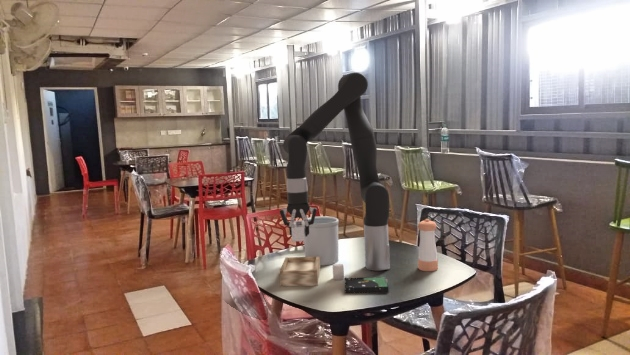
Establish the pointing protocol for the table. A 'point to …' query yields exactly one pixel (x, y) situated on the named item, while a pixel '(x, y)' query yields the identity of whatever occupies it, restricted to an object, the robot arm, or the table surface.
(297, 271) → the wooden tray
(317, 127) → the robot arm
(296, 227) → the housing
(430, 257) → the pepper shaker
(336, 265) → the spool
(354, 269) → the table surface
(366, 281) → the disk drive
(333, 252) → the utensil holder
